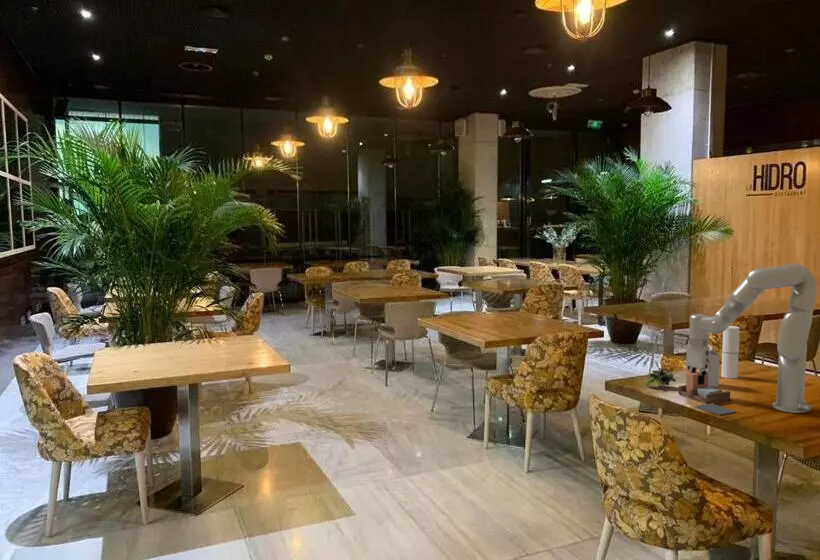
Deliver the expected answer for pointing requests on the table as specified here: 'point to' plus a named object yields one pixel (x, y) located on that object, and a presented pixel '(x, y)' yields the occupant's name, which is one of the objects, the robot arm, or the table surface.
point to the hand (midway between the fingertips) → (697, 382)
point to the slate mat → (715, 409)
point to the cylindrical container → (730, 352)
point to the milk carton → (713, 369)
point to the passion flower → (660, 377)
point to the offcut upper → (707, 391)
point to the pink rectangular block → (695, 382)
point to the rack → (709, 397)
